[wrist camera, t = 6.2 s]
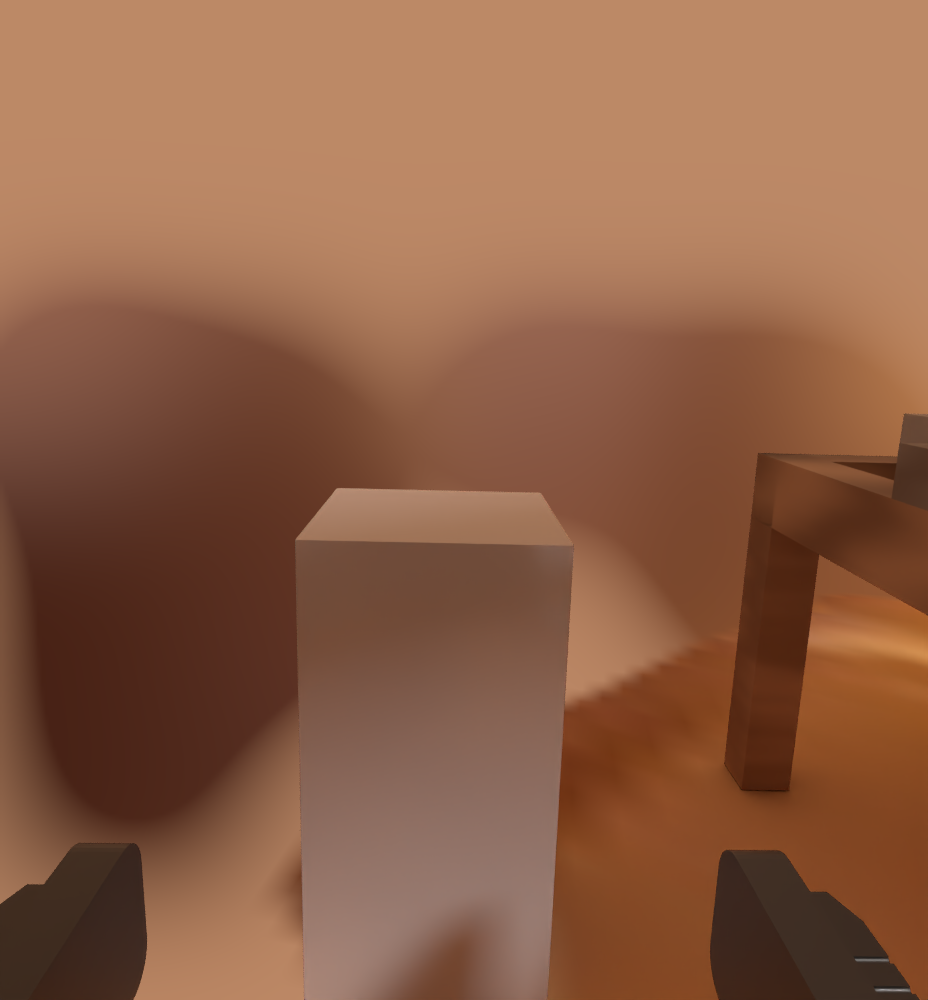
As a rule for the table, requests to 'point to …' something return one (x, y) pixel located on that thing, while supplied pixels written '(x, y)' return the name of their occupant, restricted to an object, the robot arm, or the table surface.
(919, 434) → the trapdoor
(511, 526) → the granite block
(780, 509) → the frame
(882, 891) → the table surface
